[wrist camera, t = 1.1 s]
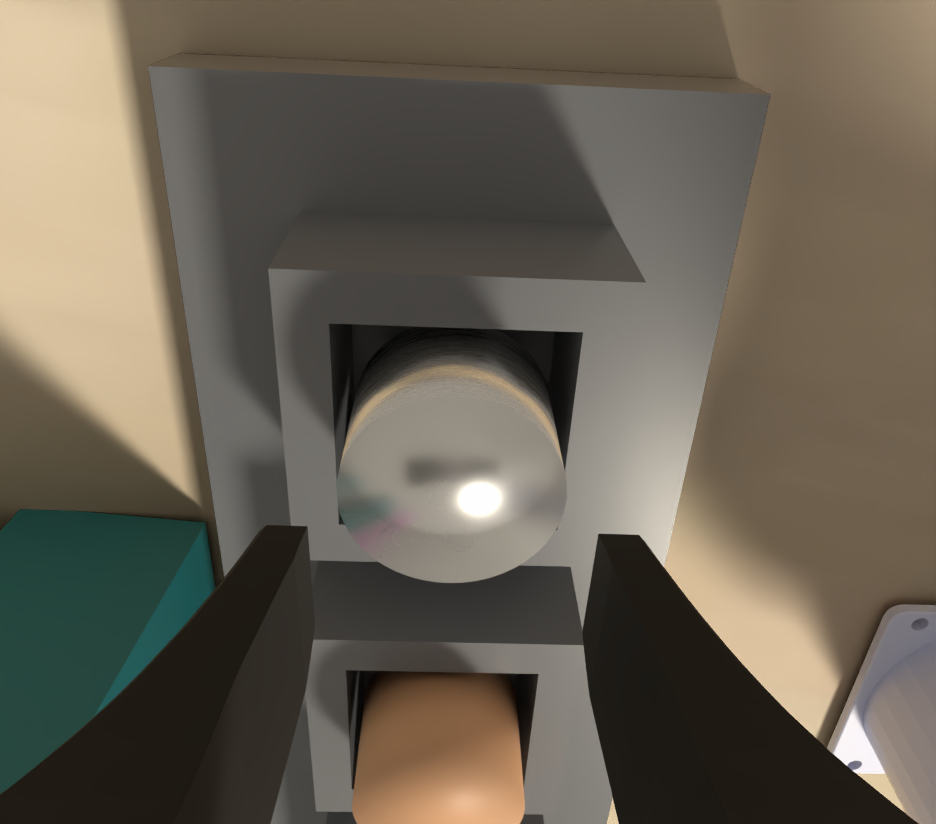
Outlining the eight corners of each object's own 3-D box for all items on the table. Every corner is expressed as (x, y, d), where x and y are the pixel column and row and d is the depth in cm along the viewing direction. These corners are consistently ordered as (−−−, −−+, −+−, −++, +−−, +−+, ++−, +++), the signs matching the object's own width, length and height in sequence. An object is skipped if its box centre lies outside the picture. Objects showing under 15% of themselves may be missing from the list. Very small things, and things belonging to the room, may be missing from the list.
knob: (559, 324, 15) (579, 401, 13) (540, 490, 18) (554, 585, 15) (352, 316, 15) (331, 393, 13) (357, 484, 17) (340, 580, 15)
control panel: (739, 79, 17) (841, 129, 13) (578, 864, 33) (599, 1014, 28) (179, 53, 17) (76, 96, 12) (283, 861, 32) (255, 1013, 28)
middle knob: (521, 650, 20) (532, 754, 17) (510, 752, 22) (518, 859, 20) (363, 647, 20) (349, 752, 17) (366, 749, 22) (354, 857, 19)
